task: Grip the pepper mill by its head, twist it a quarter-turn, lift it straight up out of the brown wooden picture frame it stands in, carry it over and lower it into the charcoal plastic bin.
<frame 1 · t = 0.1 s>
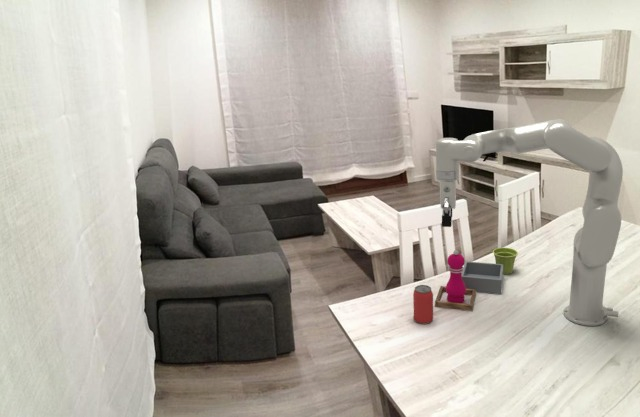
hand: (447, 221, 170), 31 cm above the table, fingers open, 9 cm apart
plant pot: (504, 271, 198), on the table
pepper mill: (455, 300, 179), resting in brown wooden picture frame
bin: (482, 283, 189), on the table
beer can: (423, 320, 168), on the table
brown wooden picture frame: (455, 300, 178), on the table
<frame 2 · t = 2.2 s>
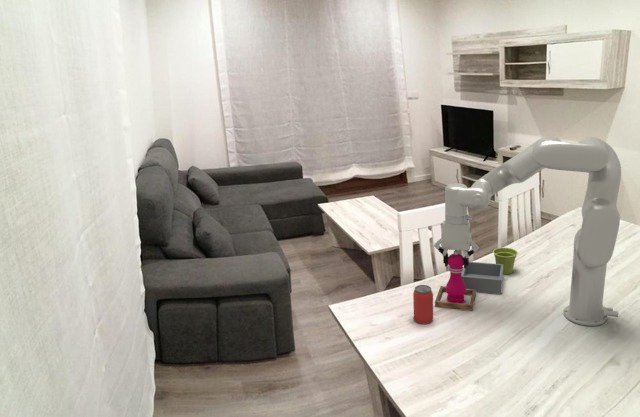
hand: (455, 265, 174), 14 cm above the table, fingers closed on pepper mill, 6 cm apart
pepper mill: (455, 300, 179), resting in brown wooden picture frame, touching gripper
everything else where it was.
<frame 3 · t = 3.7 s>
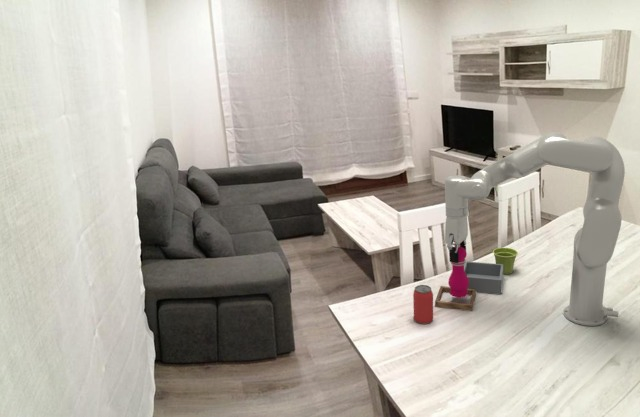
hand: (457, 258, 173), 17 cm above the table, fingers closed on pepper mill, 6 cm apart
pepper mill: (458, 294, 177), point 3 cm above the table, touching gripper
everything else where it was.
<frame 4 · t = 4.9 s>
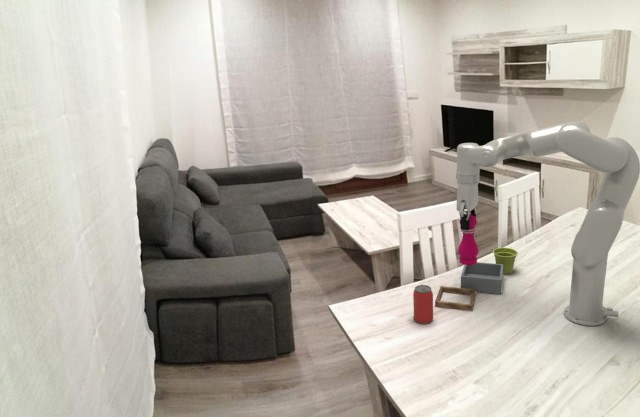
hand: (468, 226, 175), 27 cm above the table, fingers closed on pepper mill, 6 cm apart
pepper mill: (468, 262, 179), point 13 cm above the table, touching gripper
everything else where it was.
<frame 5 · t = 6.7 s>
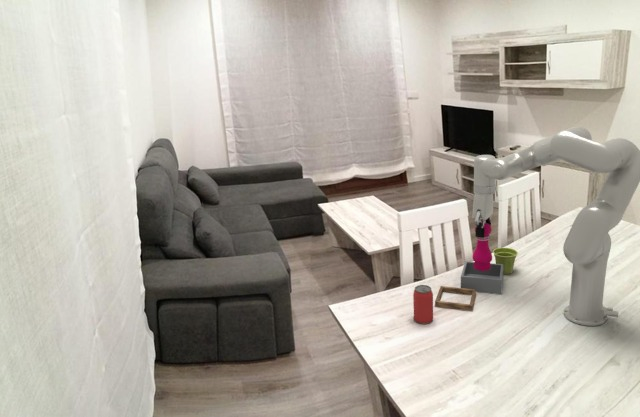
hand: (483, 233, 183), 21 cm above the table, fingers closed on pepper mill, 6 cm apart
pepper mill: (482, 268, 188), point 7 cm above the table, touching gripper
everything else where it was.
when the fingers open (16 cm above the table, at t = 8.0 s): pepper mill drops 1 cm, resting on bin.
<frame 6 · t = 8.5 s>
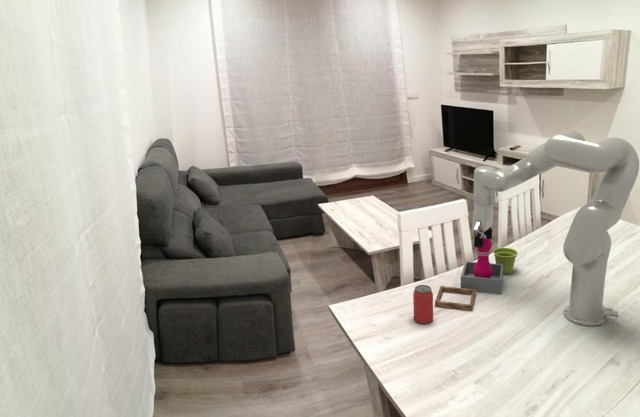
hand: (483, 242, 184), 17 cm above the table, fingers open, 9 cm apart
pepper mill: (482, 282, 189), point 1 cm above the table, touching bin
everything else where it was.
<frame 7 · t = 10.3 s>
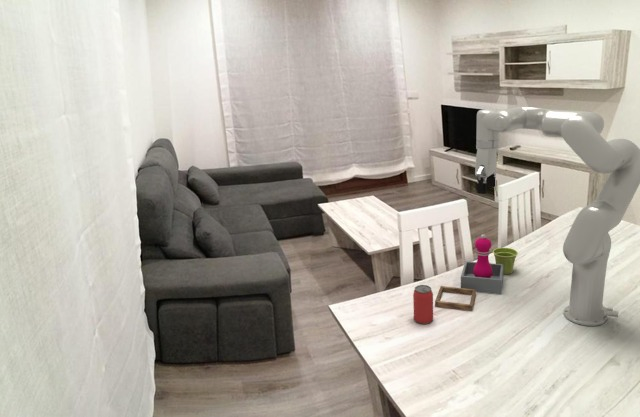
hand: (486, 190, 178), 38 cm above the table, fingers open, 9 cm apart
nothing on the table moved.
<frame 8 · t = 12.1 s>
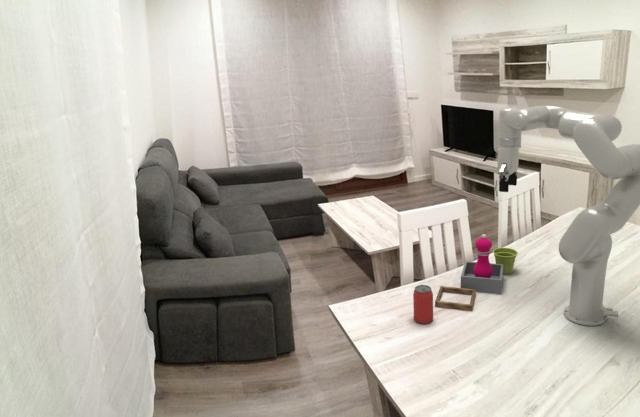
hand: (507, 188, 178), 38 cm above the table, fingers open, 9 cm apart
nothing on the table moved.
at the end: pepper mill inside the target area on the bin (0.3 cm from its centre), point 0.6 cm above the bin's base; the gripper is holding nothing; pepper mill moved 17.8 cm from its start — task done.
